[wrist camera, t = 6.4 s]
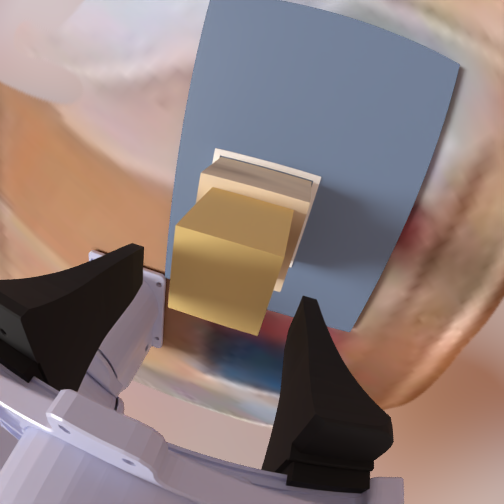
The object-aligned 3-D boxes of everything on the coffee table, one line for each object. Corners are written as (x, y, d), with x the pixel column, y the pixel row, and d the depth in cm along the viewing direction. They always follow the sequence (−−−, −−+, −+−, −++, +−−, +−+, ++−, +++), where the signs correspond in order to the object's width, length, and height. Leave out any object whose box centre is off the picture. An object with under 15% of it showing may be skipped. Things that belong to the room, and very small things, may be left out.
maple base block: (286, 259, 23) (280, 292, 19) (206, 235, 23) (187, 263, 20) (311, 181, 20) (310, 202, 16) (221, 156, 20) (200, 172, 16)
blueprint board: (349, 327, 25) (349, 333, 25) (167, 273, 26) (164, 278, 26) (456, 64, 14) (460, 64, 14) (215, -6, 15) (211, -9, 14)
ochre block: (272, 277, 19) (257, 336, 15) (200, 256, 19) (167, 307, 15) (293, 209, 17) (284, 257, 12) (212, 187, 17) (175, 225, 13)
